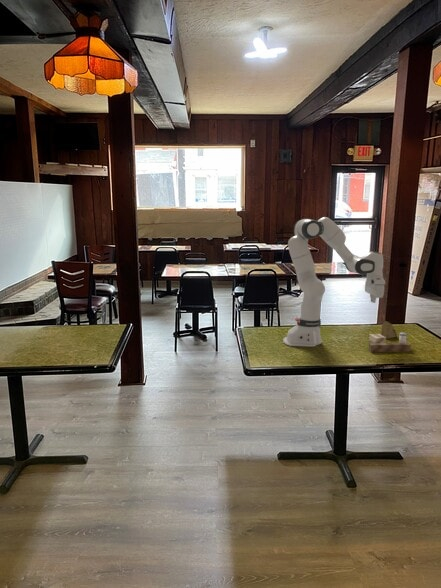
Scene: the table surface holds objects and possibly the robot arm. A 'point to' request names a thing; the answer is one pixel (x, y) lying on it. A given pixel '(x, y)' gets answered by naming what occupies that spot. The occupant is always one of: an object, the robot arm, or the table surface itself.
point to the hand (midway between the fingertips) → (373, 302)
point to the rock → (388, 330)
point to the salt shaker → (402, 337)
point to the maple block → (377, 338)
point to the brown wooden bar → (389, 347)
